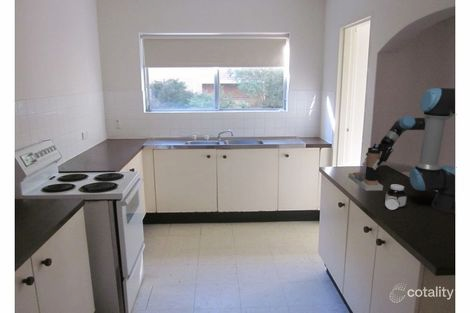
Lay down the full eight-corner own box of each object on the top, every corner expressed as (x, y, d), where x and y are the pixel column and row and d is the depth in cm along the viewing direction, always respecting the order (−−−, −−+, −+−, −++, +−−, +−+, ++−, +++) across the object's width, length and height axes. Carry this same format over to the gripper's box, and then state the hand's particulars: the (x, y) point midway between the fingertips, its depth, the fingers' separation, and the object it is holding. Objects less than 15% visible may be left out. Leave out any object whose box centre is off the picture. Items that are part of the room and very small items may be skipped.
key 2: (377, 185, 216) (378, 181, 216) (368, 185, 216) (368, 181, 215) (373, 182, 222) (373, 178, 222) (364, 182, 222) (364, 178, 221)
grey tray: (382, 190, 215) (383, 185, 214) (365, 190, 215) (366, 185, 214) (363, 177, 242) (363, 172, 242) (348, 177, 242) (348, 172, 241)
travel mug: (364, 179, 217) (367, 149, 212) (365, 176, 224) (368, 146, 219) (377, 181, 214) (380, 150, 209) (378, 178, 220) (381, 148, 215)
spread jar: (401, 203, 193) (404, 184, 191) (409, 211, 182) (412, 191, 180) (379, 202, 195) (381, 183, 192) (386, 210, 184) (388, 190, 181)
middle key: (371, 181, 225) (371, 176, 224) (362, 181, 225) (362, 177, 224) (367, 178, 231) (367, 174, 230) (358, 178, 231) (358, 174, 230)
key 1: (365, 179, 234) (365, 174, 234) (356, 179, 234) (356, 175, 233) (361, 176, 240) (361, 172, 239) (353, 176, 240) (353, 172, 239)
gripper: (405, 146, 211) (384, 174, 208) (379, 140, 229) (359, 166, 226) (400, 138, 208) (378, 167, 205) (374, 133, 225) (353, 159, 222)
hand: (368, 166), depth 215 cm, fingers closed on travel mug, 7 cm apart
